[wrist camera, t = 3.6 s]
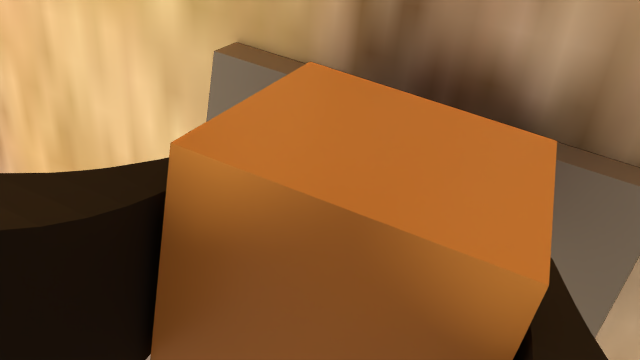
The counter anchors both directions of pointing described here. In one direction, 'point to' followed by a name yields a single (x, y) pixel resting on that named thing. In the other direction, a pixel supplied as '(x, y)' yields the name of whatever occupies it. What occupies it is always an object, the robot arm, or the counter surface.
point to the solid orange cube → (352, 229)
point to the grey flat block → (569, 192)
